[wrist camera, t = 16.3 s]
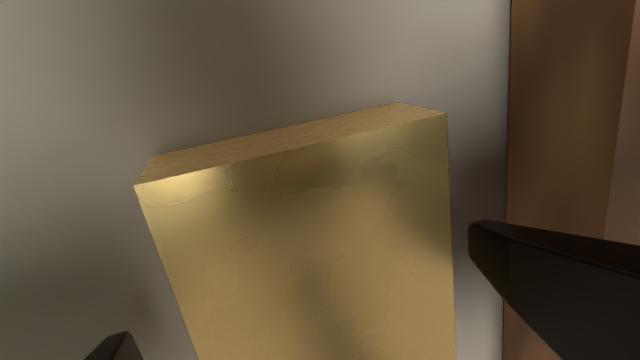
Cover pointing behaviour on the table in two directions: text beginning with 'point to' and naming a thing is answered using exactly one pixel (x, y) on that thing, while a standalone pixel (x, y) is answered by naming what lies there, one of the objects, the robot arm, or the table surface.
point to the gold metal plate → (311, 239)
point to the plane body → (572, 130)
